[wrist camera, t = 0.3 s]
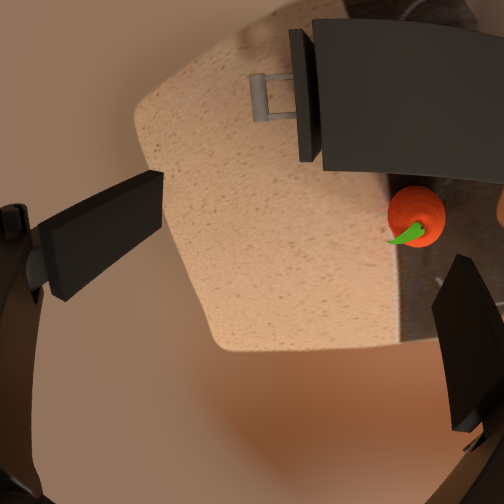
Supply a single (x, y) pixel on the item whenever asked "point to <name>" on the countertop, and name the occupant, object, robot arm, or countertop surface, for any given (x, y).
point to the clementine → (416, 216)
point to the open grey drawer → (304, 95)
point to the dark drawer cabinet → (410, 98)
